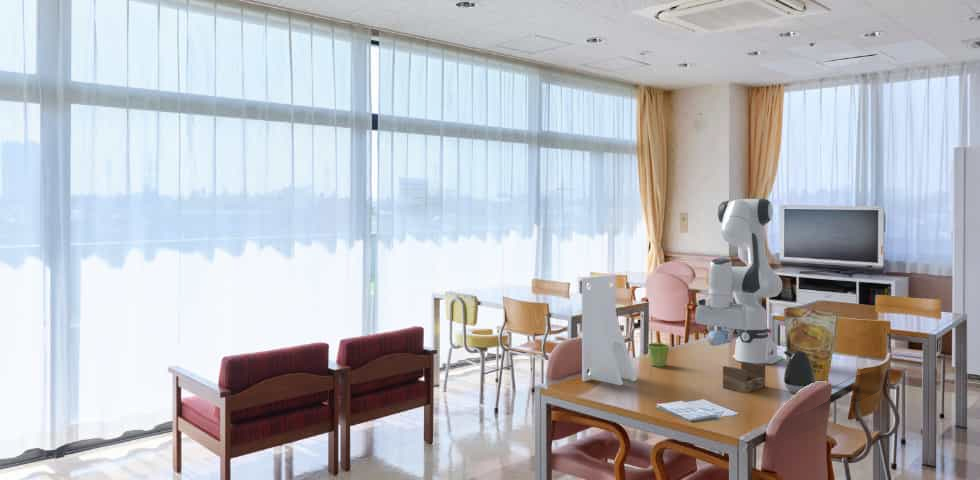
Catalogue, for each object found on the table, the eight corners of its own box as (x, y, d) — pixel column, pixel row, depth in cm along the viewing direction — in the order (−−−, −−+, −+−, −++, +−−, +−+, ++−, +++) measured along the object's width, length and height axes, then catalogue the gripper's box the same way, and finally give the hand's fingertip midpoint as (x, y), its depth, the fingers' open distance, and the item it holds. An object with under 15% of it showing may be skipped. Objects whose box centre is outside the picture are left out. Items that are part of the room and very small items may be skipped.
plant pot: (668, 363, 306) (668, 343, 306) (671, 368, 296) (671, 347, 296) (646, 363, 307) (646, 343, 306) (648, 367, 297) (648, 347, 297)
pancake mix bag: (787, 377, 279) (788, 305, 278) (837, 385, 265) (838, 310, 264) (779, 379, 274) (780, 307, 273) (830, 388, 260) (831, 312, 259)
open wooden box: (742, 382, 271) (743, 361, 271) (765, 386, 264) (765, 365, 264) (722, 388, 262) (722, 366, 262) (745, 392, 255) (745, 370, 255)
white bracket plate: (612, 387, 265) (612, 279, 263) (582, 380, 275) (581, 277, 274) (643, 378, 278) (643, 276, 277) (613, 372, 289) (613, 274, 287)
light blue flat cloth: (654, 408, 238) (654, 402, 238) (705, 402, 245) (705, 396, 245) (690, 424, 220) (690, 417, 220) (743, 417, 227) (743, 410, 227)
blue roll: (721, 341, 273) (721, 327, 273) (733, 343, 269) (734, 329, 269) (706, 344, 267) (706, 330, 267) (719, 346, 263) (719, 332, 263)
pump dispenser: (788, 387, 262) (788, 346, 261) (818, 392, 255) (818, 349, 255) (779, 393, 254) (779, 350, 254) (810, 397, 248) (810, 354, 247)
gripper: (750, 303, 261) (750, 341, 262) (702, 298, 277) (702, 334, 278) (740, 305, 257) (740, 343, 258) (692, 300, 273) (692, 336, 274)
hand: (720, 338), depth 268 cm, fingers closed on blue roll, 5 cm apart
